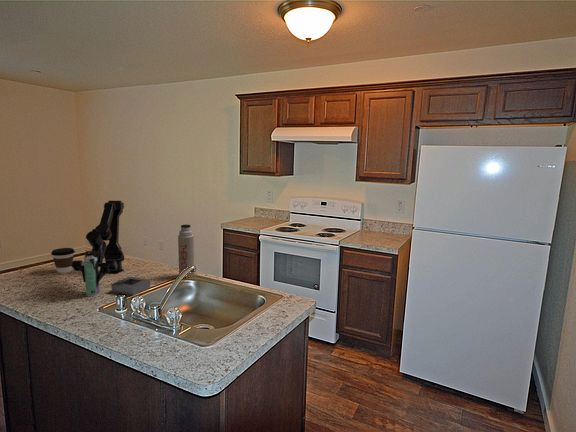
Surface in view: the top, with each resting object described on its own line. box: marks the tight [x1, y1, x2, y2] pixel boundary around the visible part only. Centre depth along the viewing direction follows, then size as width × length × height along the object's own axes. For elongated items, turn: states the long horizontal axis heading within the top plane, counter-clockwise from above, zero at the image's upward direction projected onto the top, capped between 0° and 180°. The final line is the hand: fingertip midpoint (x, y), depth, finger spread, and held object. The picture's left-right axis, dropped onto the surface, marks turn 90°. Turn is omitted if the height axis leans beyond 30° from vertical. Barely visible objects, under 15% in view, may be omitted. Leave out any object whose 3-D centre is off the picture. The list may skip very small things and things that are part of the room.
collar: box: [111, 276, 151, 297], centre depth 175 cm, size 12×12×4 cm
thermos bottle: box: [177, 224, 195, 277], centre depth 194 cm, size 8×8×28 cm
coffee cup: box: [50, 247, 76, 274], centre depth 198 cm, size 11×11×12 cm
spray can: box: [83, 252, 101, 298], centre depth 166 cm, size 6×6×20 cm
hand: (91, 281), depth 166 cm, fingers closed on spray can, 5 cm apart
